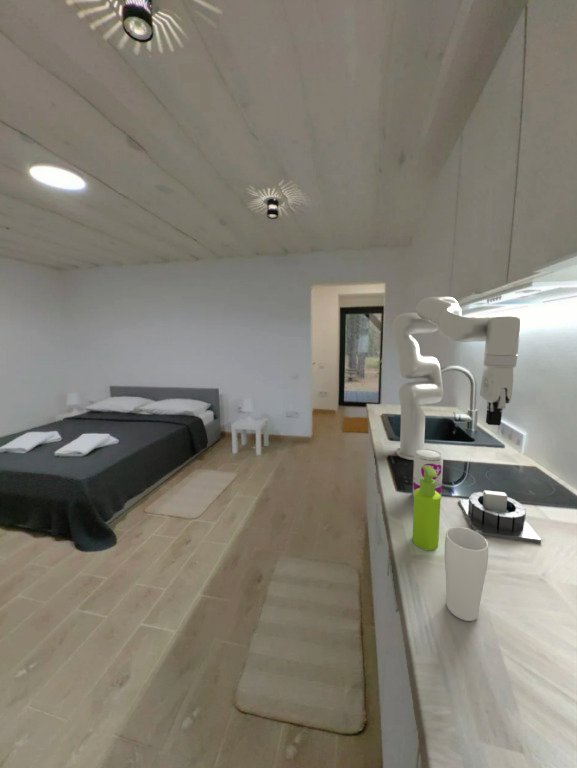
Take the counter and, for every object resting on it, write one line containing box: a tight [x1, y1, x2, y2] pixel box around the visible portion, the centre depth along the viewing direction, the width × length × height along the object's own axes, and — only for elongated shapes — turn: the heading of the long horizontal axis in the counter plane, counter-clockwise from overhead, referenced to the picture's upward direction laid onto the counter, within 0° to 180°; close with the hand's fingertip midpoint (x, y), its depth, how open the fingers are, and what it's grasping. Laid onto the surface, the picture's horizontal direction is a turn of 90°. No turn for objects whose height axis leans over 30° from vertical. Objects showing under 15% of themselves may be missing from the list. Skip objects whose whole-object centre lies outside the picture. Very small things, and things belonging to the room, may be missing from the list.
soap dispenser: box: [412, 465, 442, 551], centre depth 73 cm, size 6×7×20 cm
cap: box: [481, 489, 509, 513], centre depth 82 cm, size 7×7×7 cm
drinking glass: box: [444, 526, 489, 622], centre depth 55 cm, size 7×7×15 cm
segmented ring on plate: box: [458, 491, 542, 544], centre depth 82 cm, size 16×14×5 cm
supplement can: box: [412, 448, 444, 497], centre depth 94 cm, size 8×8×15 cm
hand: (492, 423), depth 86 cm, fingers closed
